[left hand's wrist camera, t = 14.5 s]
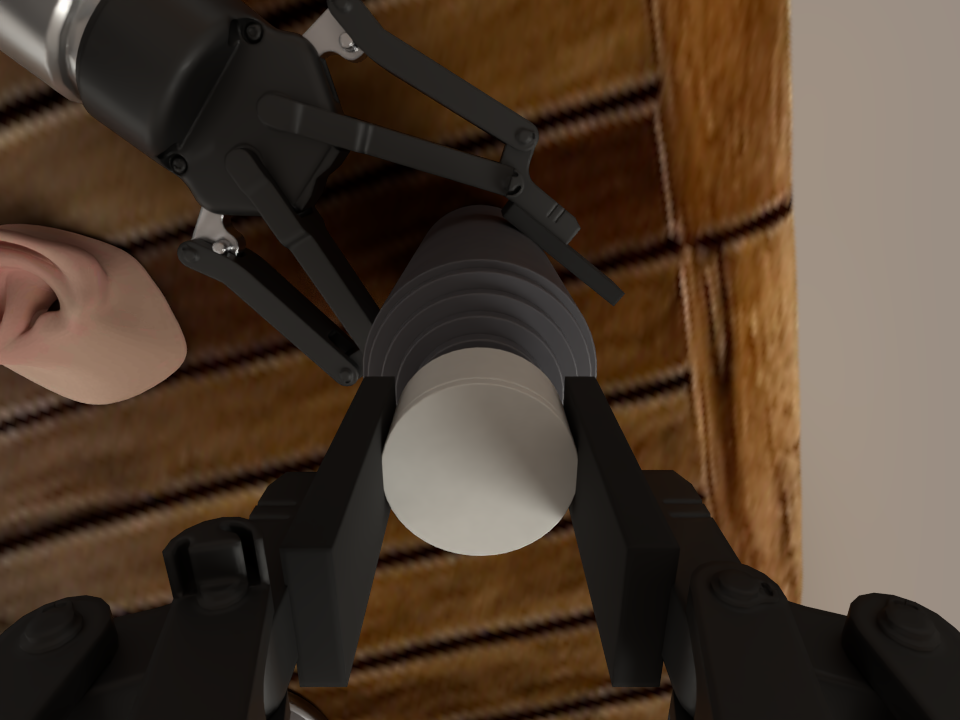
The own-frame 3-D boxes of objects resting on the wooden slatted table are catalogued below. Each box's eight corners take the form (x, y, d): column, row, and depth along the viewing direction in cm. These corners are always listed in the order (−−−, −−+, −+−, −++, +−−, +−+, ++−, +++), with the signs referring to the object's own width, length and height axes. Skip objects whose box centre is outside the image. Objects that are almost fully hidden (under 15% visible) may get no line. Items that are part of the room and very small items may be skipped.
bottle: (504, 179, 31) (550, 240, 11) (564, 293, 34) (692, 514, 13) (392, 245, 33) (251, 407, 12) (457, 350, 35) (426, 631, 15)
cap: (373, 469, 15) (355, 524, 13) (426, 321, 14) (416, 354, 12) (526, 518, 16) (534, 577, 13) (592, 380, 14) (612, 422, 12)
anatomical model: (184, 347, 30) (70, 477, 33) (216, 325, 34) (111, 444, 37) (-47, 160, 27) (-153, 322, 30) (16, 158, 31) (-83, 302, 34)
